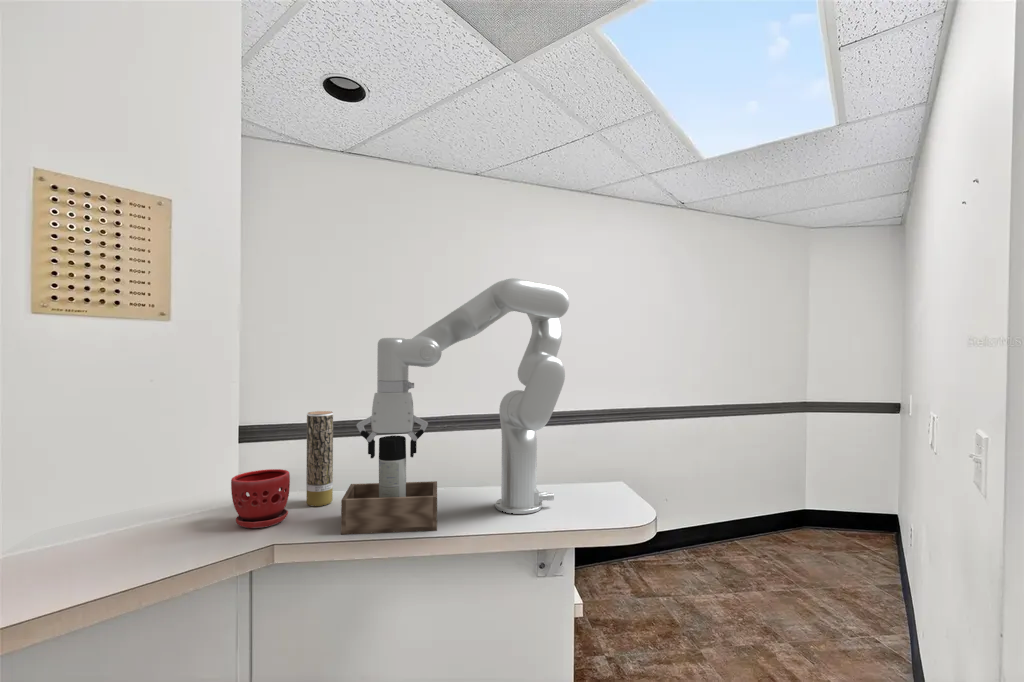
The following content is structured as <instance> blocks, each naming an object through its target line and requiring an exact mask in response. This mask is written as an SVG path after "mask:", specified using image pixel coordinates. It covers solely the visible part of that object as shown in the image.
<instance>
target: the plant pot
mask: <svg viewBox="0 0 1024 682" xmlns="http://www.w3.org/2000/svg"><path fill="white" fill-rule="evenodd" d="M290 485H291V474H290V471H288V470H286V469H279V468H278V469H277V468H274V469H273V468H271V469H270V468H269V469H260V470H258V469H257V470H253V471H252V470H251V471H248V472H244V473H243V472H242V473H239V474H236V475H235V476H233V477H232V478H231V480H230V491H231V492H230V493H231V498H232V503H233V506H234V509H235V511H236V513H237V514H238V515H237V516H236V518H235V522H236V524H237V525H238V526H240V527H241V528H245V529H260V528H267V527H271V526H276V525H277V524H281V522H283V521H284V520H285V519H286V518H287V516H288V515H289V511H288V510H287V509H286V506H287V504H288V500H289V496H290V487H291V486H290ZM247 493H248V495H247Z"/></svg>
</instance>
